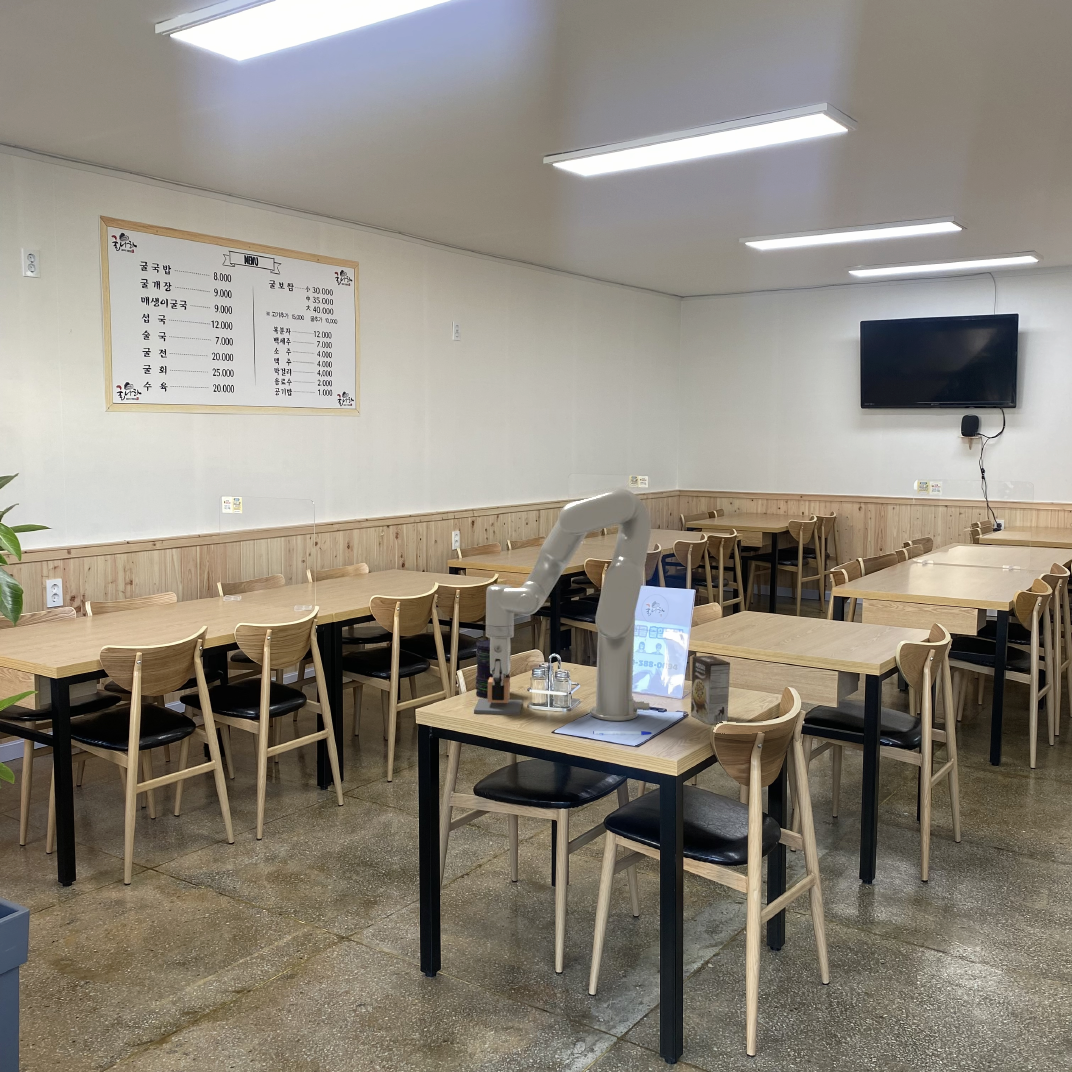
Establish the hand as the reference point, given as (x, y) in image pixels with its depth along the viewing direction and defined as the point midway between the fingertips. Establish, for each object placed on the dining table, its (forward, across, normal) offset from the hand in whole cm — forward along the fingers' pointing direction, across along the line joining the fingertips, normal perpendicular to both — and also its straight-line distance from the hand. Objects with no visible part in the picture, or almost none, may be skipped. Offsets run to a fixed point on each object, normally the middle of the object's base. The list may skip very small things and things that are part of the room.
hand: (498, 696), depth 268 cm
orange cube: (+1, 0, 0) cm, 1 cm away
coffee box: (+4, -4, -56) cm, 56 cm away
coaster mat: (+3, 0, 0) cm, 3 cm away
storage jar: (+4, +15, +3) cm, 16 cm away
